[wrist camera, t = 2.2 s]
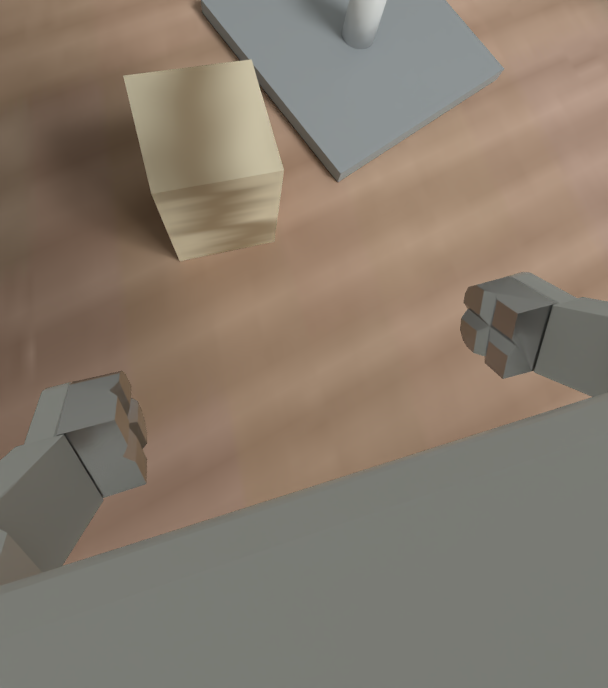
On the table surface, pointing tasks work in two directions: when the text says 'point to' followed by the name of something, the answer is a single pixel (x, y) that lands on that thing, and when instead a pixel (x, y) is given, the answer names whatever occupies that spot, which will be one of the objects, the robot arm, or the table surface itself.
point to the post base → (356, 67)
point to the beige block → (208, 156)
